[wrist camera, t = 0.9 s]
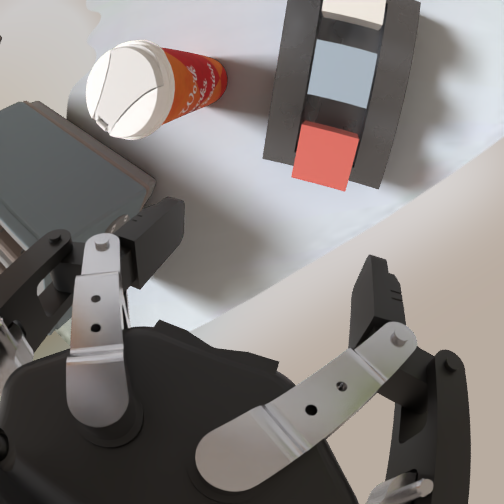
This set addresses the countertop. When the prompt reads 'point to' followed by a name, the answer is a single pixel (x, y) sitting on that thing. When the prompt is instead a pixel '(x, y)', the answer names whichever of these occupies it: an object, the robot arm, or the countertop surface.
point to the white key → (356, 12)
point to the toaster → (60, 183)
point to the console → (335, 112)
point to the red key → (325, 155)
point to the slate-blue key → (342, 73)
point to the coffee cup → (149, 87)
